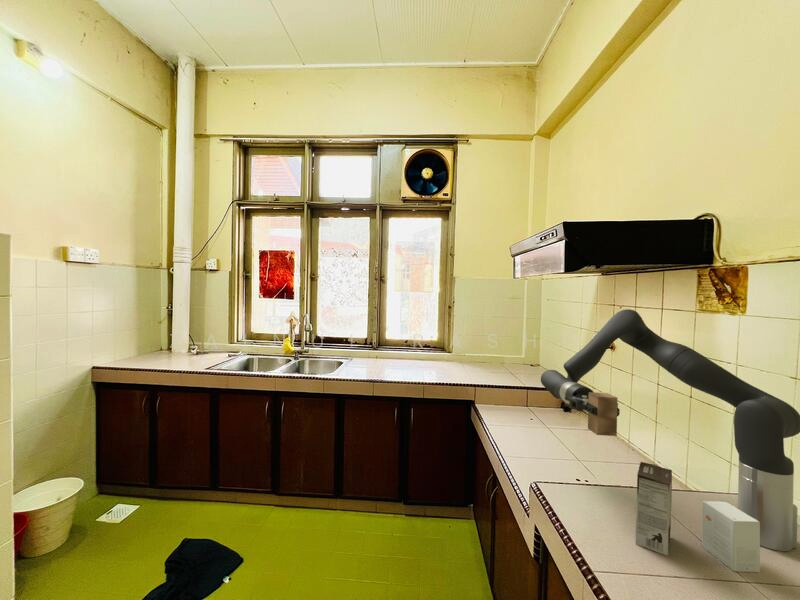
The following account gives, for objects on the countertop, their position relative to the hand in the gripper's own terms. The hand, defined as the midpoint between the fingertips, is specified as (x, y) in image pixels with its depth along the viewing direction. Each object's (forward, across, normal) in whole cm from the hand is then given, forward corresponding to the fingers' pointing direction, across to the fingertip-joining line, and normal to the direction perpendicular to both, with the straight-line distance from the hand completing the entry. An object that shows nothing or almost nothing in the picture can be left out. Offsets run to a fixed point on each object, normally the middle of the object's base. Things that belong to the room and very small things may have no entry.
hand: (606, 411), depth 94 cm
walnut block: (-2, 0, +6) cm, 6 cm away
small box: (+15, +19, +27) cm, 36 cm away
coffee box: (+10, +6, +27) cm, 29 cm away
